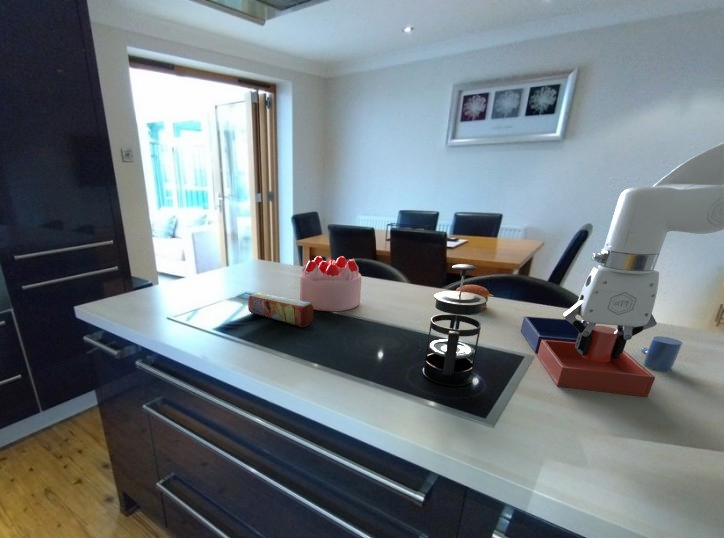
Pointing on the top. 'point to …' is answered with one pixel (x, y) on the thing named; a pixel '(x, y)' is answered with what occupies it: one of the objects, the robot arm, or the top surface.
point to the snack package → (281, 309)
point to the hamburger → (476, 292)
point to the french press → (453, 336)
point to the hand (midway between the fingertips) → (596, 353)
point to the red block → (602, 344)
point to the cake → (330, 284)
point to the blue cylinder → (661, 353)
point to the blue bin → (547, 330)
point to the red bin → (594, 370)
